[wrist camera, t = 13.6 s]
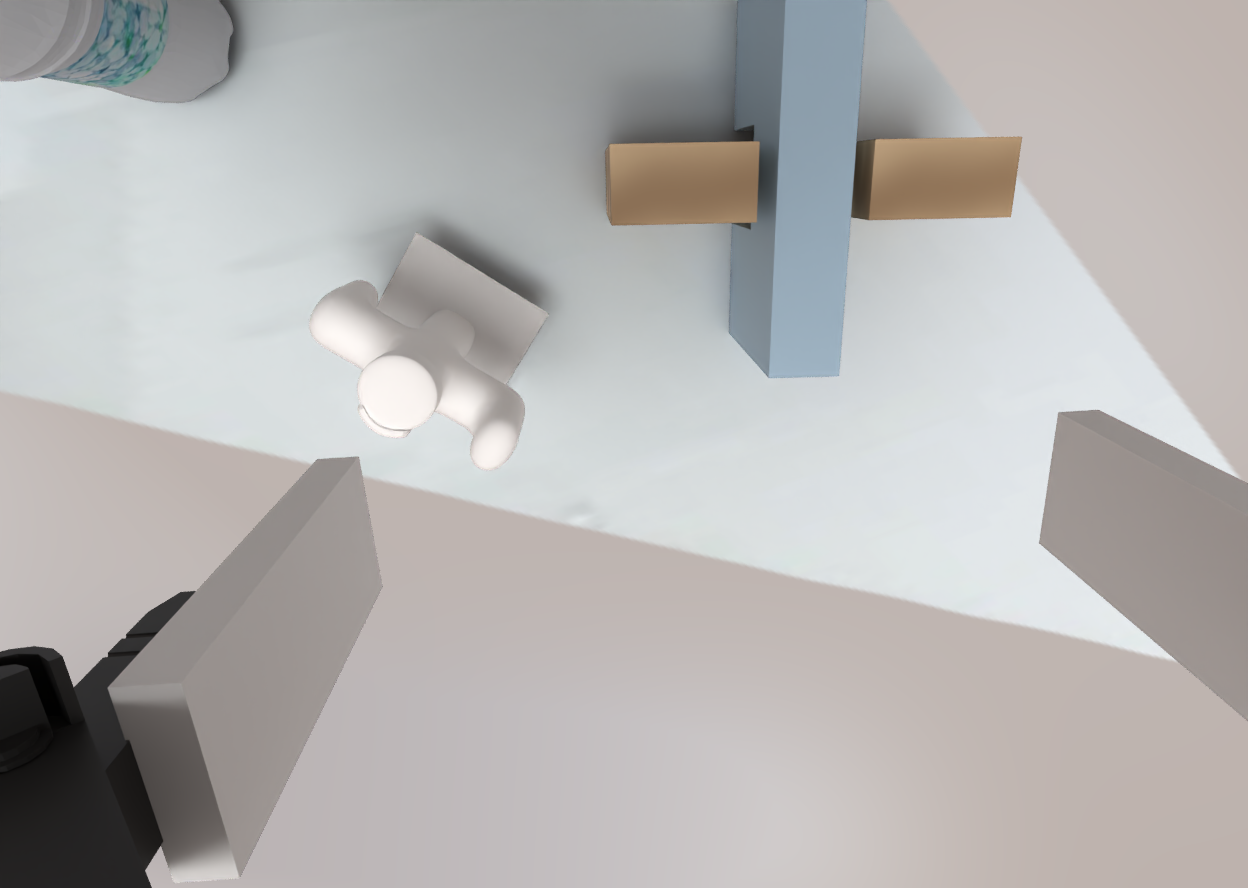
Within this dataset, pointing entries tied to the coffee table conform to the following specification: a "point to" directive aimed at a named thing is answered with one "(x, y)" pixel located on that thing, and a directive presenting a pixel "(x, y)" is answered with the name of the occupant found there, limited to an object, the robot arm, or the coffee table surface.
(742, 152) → the wooden block stack
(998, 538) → the coffee table surface
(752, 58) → the blue bridge block
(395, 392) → the figurine
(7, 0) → the bottle
